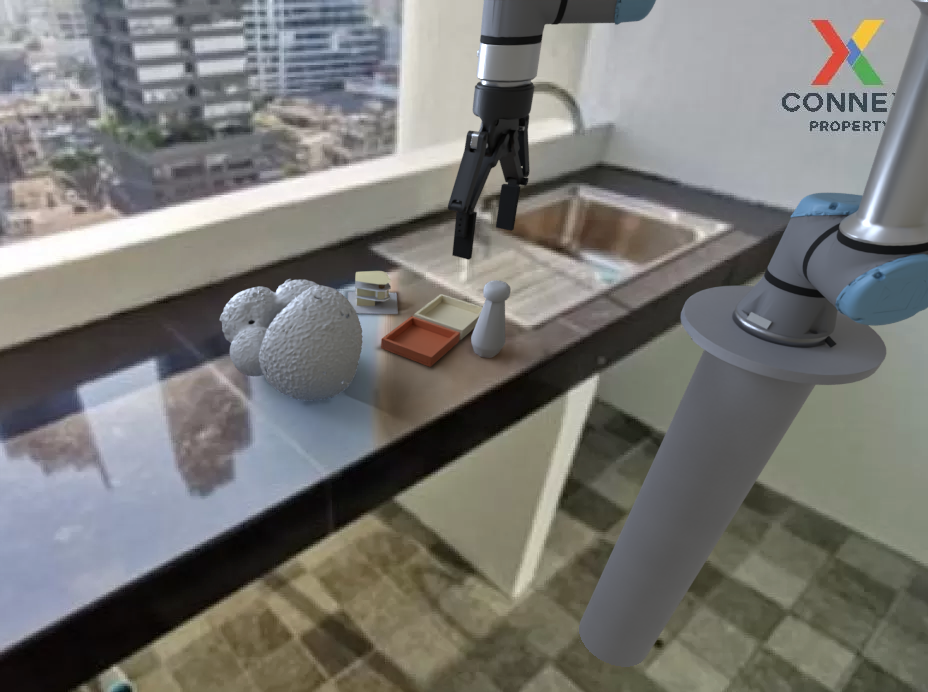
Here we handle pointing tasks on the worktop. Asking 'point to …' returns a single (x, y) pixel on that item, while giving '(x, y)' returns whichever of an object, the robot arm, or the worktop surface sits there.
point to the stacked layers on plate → (373, 294)
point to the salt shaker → (491, 320)
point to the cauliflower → (295, 338)
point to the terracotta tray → (420, 340)
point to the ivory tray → (451, 314)
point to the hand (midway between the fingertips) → (484, 242)
